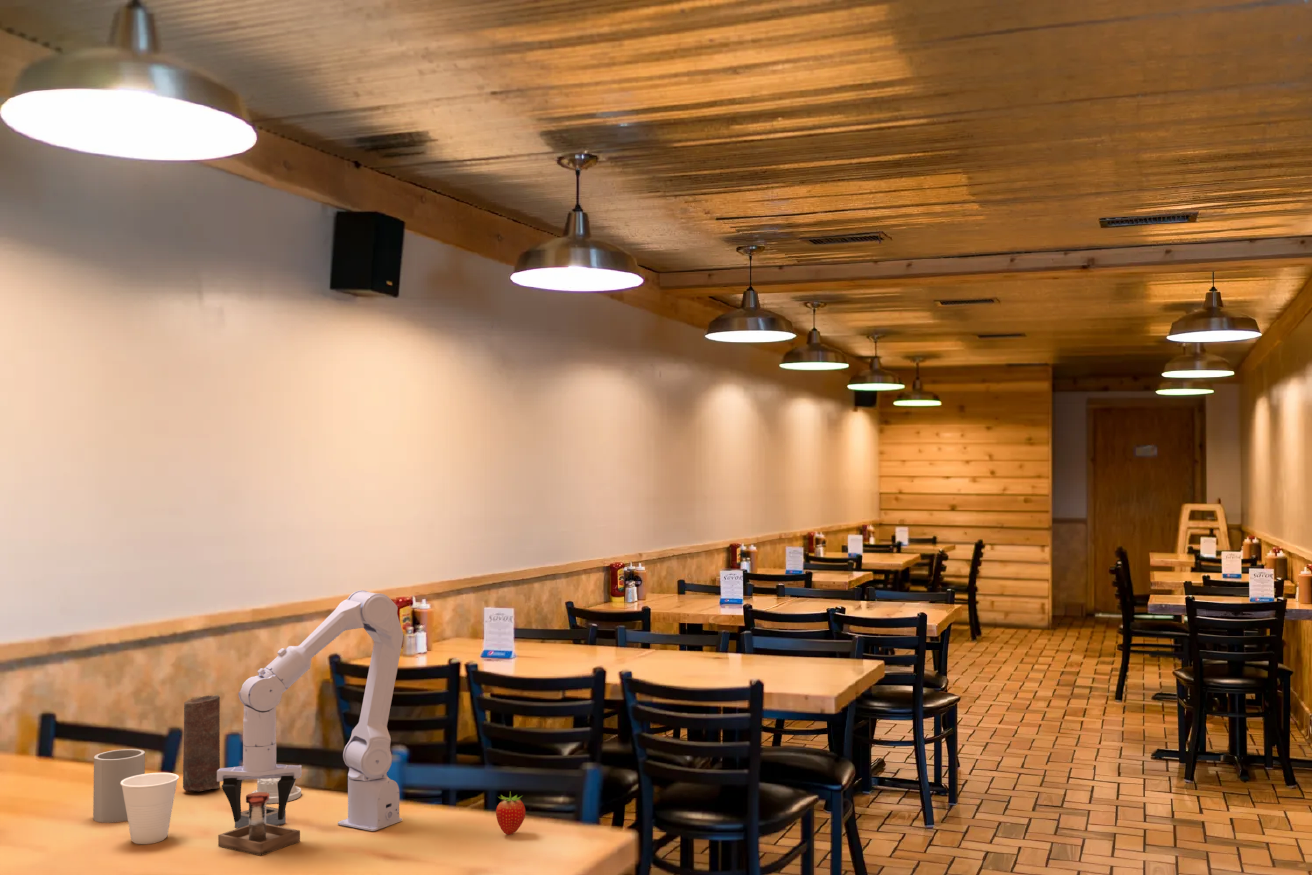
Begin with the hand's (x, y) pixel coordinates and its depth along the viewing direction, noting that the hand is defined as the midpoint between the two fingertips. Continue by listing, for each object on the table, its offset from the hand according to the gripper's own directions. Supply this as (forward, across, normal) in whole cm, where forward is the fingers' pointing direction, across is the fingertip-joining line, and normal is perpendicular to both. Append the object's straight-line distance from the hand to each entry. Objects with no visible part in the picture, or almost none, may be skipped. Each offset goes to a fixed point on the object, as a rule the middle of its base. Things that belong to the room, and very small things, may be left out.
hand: (259, 819), depth 208 cm
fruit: (+5, -45, +2) cm, 45 cm away
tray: (+4, 0, 0) cm, 4 cm away
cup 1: (+5, +32, -23) cm, 39 cm away
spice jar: (+4, 0, -1) cm, 4 cm away
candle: (+5, +20, -39) cm, 45 cm away
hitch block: (+4, +2, -12) cm, 13 cm away
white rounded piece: (+5, +3, -32) cm, 32 cm away
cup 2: (+5, +21, -6) cm, 22 cm away
